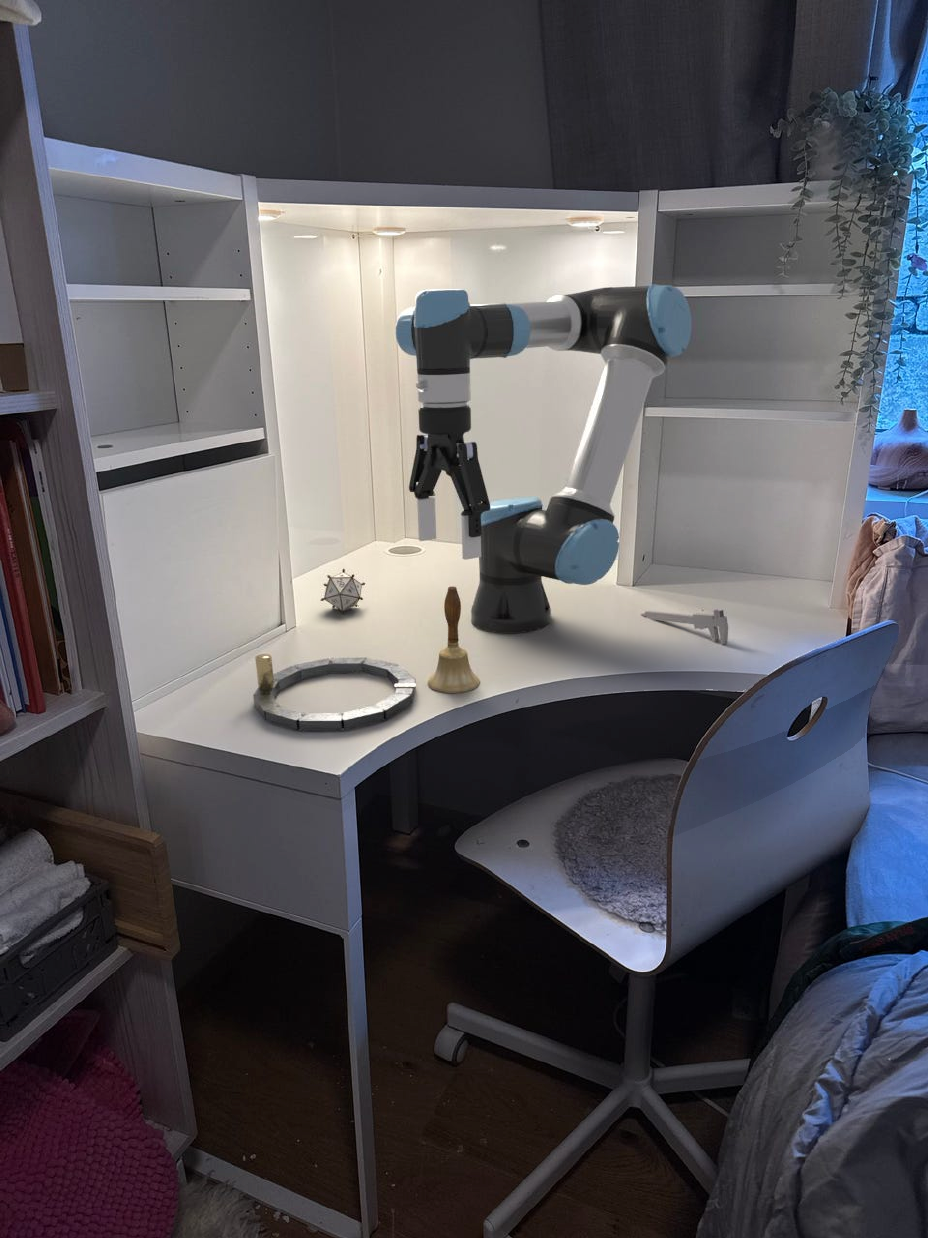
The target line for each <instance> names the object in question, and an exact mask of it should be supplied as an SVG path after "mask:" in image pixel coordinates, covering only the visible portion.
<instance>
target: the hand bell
mask: <svg viewBox="0 0 928 1238" xmlns="http://www.w3.org/2000/svg"><path fill="white" fill-rule="evenodd" d="M457 588H458V587H456V586H449V587H448V588H447V592H446V595H445V599H444V602H443V603H444V605H443V606H444V611H443V612H444V616H445V620H446V623H447V646H446V647H443V648H442V649H440V651H439V652H438V660H437V661H438V662H437V665H436V669H435V670H434V672H433V674H432V675H431V676H430V677H429V679H428V681H427V685H428V687H429V688H430V689H431V690H434V691H435V692H440V693H445V694H458V693H466V692H470V691H473V690H474V689H476V688H478V686H479V685H480V684H481V680H480V679H479V676H478V675H477V674H475V673H474V671H473V670H472V668H471V665H470V663H469V662H470V661H469V656H468V651H467V650H466V649H465V648H463V647H460V646H459V641H460V640H459V622H460V620H461V619H460V618H461V612H462V605H461V604H462V603H461V598H460V596H459V592H458V589H457Z"/></svg>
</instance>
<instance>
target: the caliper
mask: <svg viewBox="0 0 928 1238" xmlns="http://www.w3.org/2000/svg"><path fill="white" fill-rule="evenodd" d="M640 616H641V617H645V618H647V619H648V620H649V619H650V620H651V621H652V620H654V621H662V622H663V621H664V622H669V623H670V622H671V623H679V624H688V625H693V628H694V629H695V630H696V629H698V630H705V629H708V631H709V634H710V637H711V639H712V642H713V643H715V644H716V643H719V642H720V645H726V644H728V640H729V639H728V638H729V637H728V636H729V624H728V619H727V618H728V617H727V615H726V616H725V612H724V609H722V610H719V609H714V610H713V614H712V613H711V614H710V613H709V614H707V613H693V614H686V613H676V612H667V611H659V610H658V611H656V610H647V611H645V612H643V613H640Z"/></svg>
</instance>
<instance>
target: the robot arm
mask: <svg viewBox="0 0 928 1238" xmlns="http://www.w3.org/2000/svg"><path fill="white" fill-rule="evenodd" d="M691 333H692V315H691V309H690V305H689V303H688V300H687V299H686V296H685V295H684V293H683V292H682V291H681V290H680V289H679V288H678V287H675V286H673V285H670V284H669V285H661V284H660V285H659V284H656V283H653V284H651V285H642V286H641V285H639V286H638V285H637V286H635V285H634V286H617V287H616V286H615V287H610V286H608V287H600V288H595V289H590V290H585V291H580V292H576V293H575V292H574V293H570V294H569V293H568V294H559V295H558V294H557V295H554V296H552V297H550V298H549V299H548V300H546V301H529V302H527V301H526V302H507V303H506V302H501V303H481V304H471V303H470V302H469V294H468V292H467V291H466V290H465V289H453V288H452V289H425V290H421V291H419V292H418V293H417V294H416V295H415V298H414V307H413V306H412V307H409V308H407V309H404V310H403V311H402V312H401V313H400V315H399V316H398V318H397V321H396V324H395V337H396V342H397V345H398V346H399V348H400V349H401V350H402V351H403V352H404V354H405V353H406V354H407V355H408V356H413V357H415V359H416V372H417V382H416V383H415V386H416V389H417V395H418V397H417V399H418V402H419V403H420V404H422V406H421V405H420V406H419V408H418V410H417V411H418V429H419V432H420V433H422V434H417V435H416V439H415V440H416V441H415V442H416V443H415V444H416V448H415V454H414V459H413V463H412V464H413V465H412V469H411V475H410V479H409V484H408V490H409V492H410V493H414V498H415V499H416V502H417V503H416V507H417V525H418V528H417V529H418V530H417V531H418V541H420V542H425V541H431V540H436V539H437V526H436V525H437V521H436V497H435V496H436V493H435V491H434V490H435V487H436V486H437V483H438V480H439V478H440V476H441V473H442V472H445V474H446V475H447V476H449V477H450V478H451V481H452V483H453V487H454V488H455V490H456V493H457V497H458V498H459V501H460V503H461V506H462V508H463V510H462V511H461V513H460V515H461V545H462V547H461V550H462V552H461V554H462V559H463V560H465V561H468V560H473V559H477V558H478V563H479V564H478V566H479V583H478V586H477V590H476V592H475V597H474V600H473V603H472V606H471V609H470V617H471V618H470V619H471V623H472V625H474V626H475V627H477V629H481V630H484V631H486V632H487V631H488V632H492V633H493V632H494V633H503V634H515V633H517V634H518V633H528V632H533V631H537V630H539V629H540V630H541V629H543V628H545V627H546V626H547V625H549V624H550V623H551V622H552V621H551V620H552V612H551V611H552V608H551V606H550V602H549V600H548V599H549V598H548V597H547V594H546V590H545V587H544V584H543V581H542V579H543V578H544V577H545V578H548V579H552V580H556V581H560V582H562V583H565V584H568V585H569V584H570V585H571V584H572V585H573V584H575V585H580V586H589V585H592V584H595V583H597V581H598V580H601V579H602V578H604V577H605V576H606V574H607V573H609V571H610V569H611V568H612V566H613V565H614V564H615V562H616V558H617V556H618V554H619V553H618V552H619V548H620V542H619V541H618V540H619V539H620V533H619V531H618V528H617V526H616V525H615V524H614V520H615V517H616V515H615V513H614V512H613V510H612V508H611V502H612V499H613V497H614V493H615V491H616V487H617V484H618V481H619V479H620V475H621V472H622V470H623V466H624V463H625V461H626V458H627V455H628V452H629V449H630V447H631V443H632V441H633V437H634V435H635V431H636V429H637V425H638V423H639V419H640V416H641V413H642V411H643V407H644V405H645V401H646V398H647V396H648V393H649V389H650V387H651V384H652V380H654V378H656V377H658V376H660V375H662V374H663V373H664V372H665V371H666V367H667V364H668V360H669V357H672V358H674V357H676V356H680V355H681V354H682V353H684V352H685V351H686V349H687V347H688V345H689V344H690V339H691V335H692V334H691ZM544 347H545V348H546V347H548V348H550V349H551V350H552V351H556V352H563V351H567V352H568V351H571V352H572V351H573V352H583V353H588V354H589V353H590V354H598V355H601V357H602V359H603V361H604V368H603V371H602V374H601V377H600V380H599V383H598V385H597V388H596V391H595V394H594V398H593V400H592V403H591V407H590V409H589V412H588V415H587V418H586V421H585V423H584V427H583V429H582V433H581V436H580V438H579V442H578V444H577V446H576V450H575V454H574V456H573V459H572V462H571V465H570V468H569V471H568V473H567V477H566V479H565V482H564V485H563V489H562V490H560V491H559V492H557V493H554V494H553V495H551V496H550V499H549V501H548V505H547V509H546V510H545V509H543V507H544V506H543V502H542V500H541V498H539V497H515V498H507V499H500V500H495V501H491V502H490V500H489V496H488V492H487V488H486V484H485V481H484V480H485V479H484V476H483V472H482V468H481V466H480V461H479V457H478V456H479V453H478V445H477V443H476V442H475V441H471V442H465V439H464V435H465V433H469V431H471V429H472V414H471V413H472V410H471V407H470V405H469V404H468V402H471V400H472V398H471V397H472V396H471V394H472V393H471V360H473V359H488V358H489V359H493V358H502V359H503V358H504V359H506V358H508V357H511V356H516V355H519V354H521V353H522V352H523V351H524V350H525V349H533V348H544ZM542 577H543V578H542Z"/></svg>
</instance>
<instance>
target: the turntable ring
mask: <svg viewBox="0 0 928 1238" xmlns="http://www.w3.org/2000/svg"><path fill="white" fill-rule="evenodd" d="M255 667H256V668H255V669H256V674H257V675H256V676H257V686H258V687H257V688H256V690H255V692H254V693H253V694H252V696H253V706H254V707H255V708H256V710H257V712H258V713H259V714H260V716H261V718H263V720H264V722H266V723H270V724H274V725H277V726H279V727H280V726H281V727H283V728H286V729H291V730H295V731H300V732H342V731H343V730H344V731H349V730H353V729H357V728H361V727H364V726H365V727H366V726H369V725H374V724H378V723H381V722H385V721H388V720H389V719H391V718H393V717H394V716H395V715H397V714H399V713H401V712H402V711H404V710H406V709H407V708H409V707H410V706H411V705H412V704H413V700H414V697H415V692H416V689H417V687H416V686H417V684H416V683H417V682H416V677H415V676H414V675H412V673H410V672H409V671H408V670H407V669H405V668H404V667H403V666H402V665H400V664H397V663H393V662H389V661H384V660H380V659H377V658H372V657H331V658H329V657H327V658H322V659H317V660H313V661H308V662H304V663H303V662H302V663H299V664H298V663H297V664H293V665H289V666H287V667H286V668H284V669H281V670H279V671H277V672H276V673H274V670H273V669H274V668H273V660H272V654H270V653H262V654H257V655H256V656H255ZM332 673H333V674H334V673H364V674H369V675H372V676H377V677H380V678H384V679H388V681H390V682H391V683H392V684H393V685H394V687H393V688H395V692H394V693H393V694H391V695H390V696H388V697H386V698H384V699H383V700H381V701H379V702H377V703H375V704H374V705H370V706H367V707H361V708H357V709H353V710H349V711H343V712H309V713H307V712H303V711H299V710H296V709H293V708H288V707H286V706H282V705H280V704H279V702H278V701H277V700H276V699H275V698H276V697H277V695H278V693H279V692H280V690H282V689H284V688H287V687H288V686H290V685H292V684H294V683H296V682H298V681H300V680H302V679H307V678H312V677H313V678H314V677H317V676H322V675H326V674H327V675H328V674H332Z"/></svg>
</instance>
